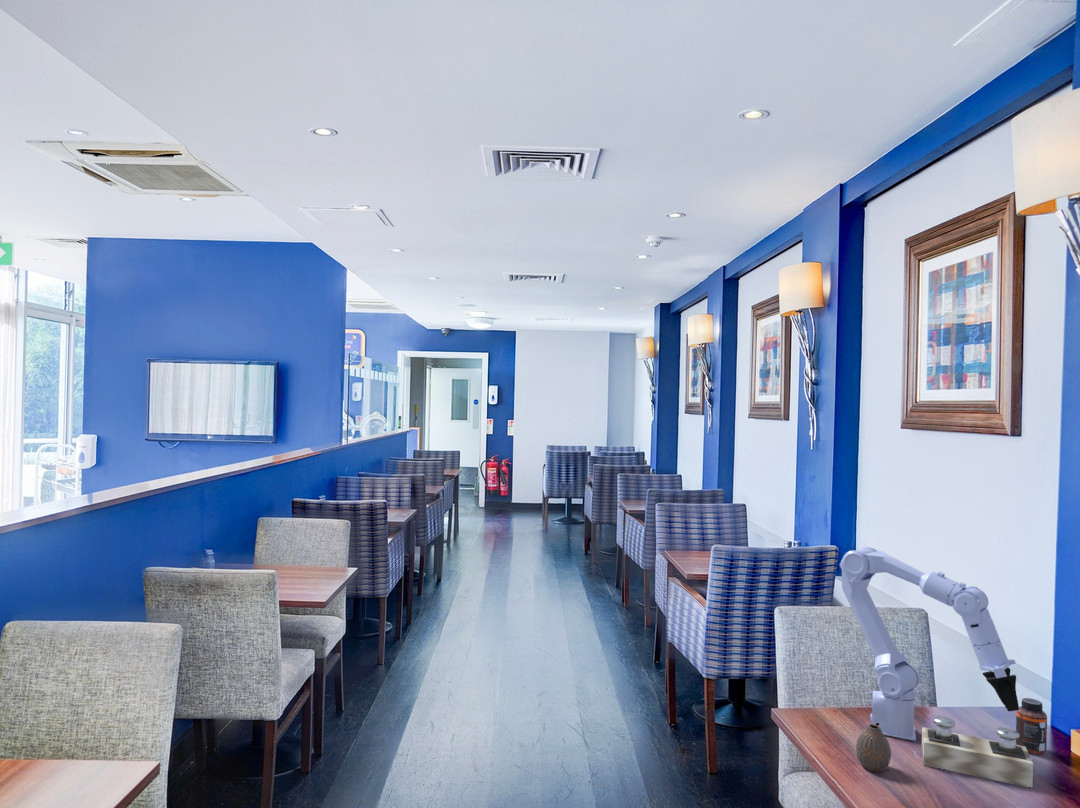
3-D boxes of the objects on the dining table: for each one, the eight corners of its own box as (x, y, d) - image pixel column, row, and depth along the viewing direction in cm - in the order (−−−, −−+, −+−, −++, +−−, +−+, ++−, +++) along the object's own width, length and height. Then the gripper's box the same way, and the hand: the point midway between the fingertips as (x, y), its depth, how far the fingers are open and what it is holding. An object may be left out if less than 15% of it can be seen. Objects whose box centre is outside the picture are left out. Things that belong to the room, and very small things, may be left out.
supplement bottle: (1051, 757, 167) (1052, 707, 167) (1022, 754, 168) (1023, 704, 168) (1039, 746, 173) (1040, 697, 173) (1010, 742, 174) (1012, 694, 174)
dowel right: (996, 755, 157) (997, 733, 157) (994, 747, 161) (994, 725, 161) (1020, 760, 155) (1020, 737, 156) (1016, 752, 159) (1017, 729, 159)
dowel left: (933, 743, 162) (933, 721, 162) (932, 735, 166) (932, 714, 166) (955, 747, 161) (955, 725, 161) (953, 740, 164) (954, 718, 164)
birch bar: (923, 765, 161) (924, 740, 161) (921, 748, 169) (922, 725, 169) (1032, 788, 152) (1033, 762, 152) (1024, 769, 161) (1025, 745, 161)
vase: (888, 763, 161) (889, 723, 161) (892, 777, 155) (893, 735, 155) (854, 757, 164) (855, 717, 164) (856, 771, 157) (858, 729, 157)
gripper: (1010, 643, 157) (1037, 710, 153) (1002, 636, 169) (1026, 697, 166) (974, 649, 159) (999, 716, 155) (968, 642, 172) (992, 703, 168)
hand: (1011, 707), depth 161 cm, fingers open, 7 cm apart
